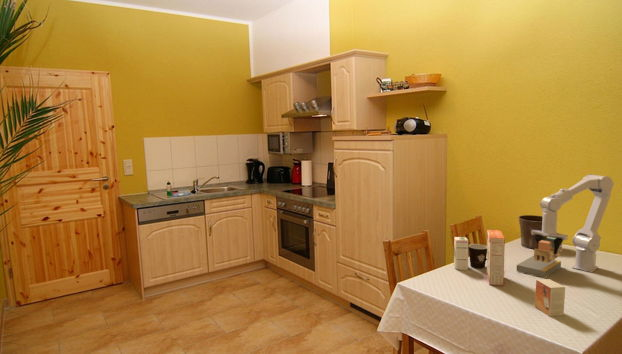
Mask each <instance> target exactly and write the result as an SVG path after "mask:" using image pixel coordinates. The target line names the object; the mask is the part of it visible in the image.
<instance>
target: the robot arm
mask: <svg viewBox="0 0 622 354" xmlns="http://www.w3.org/2000/svg"><path fill="white" fill-rule="evenodd" d="M614 185H615V183H614V181H613V179H612V177H610V176H608V175H597V174H587V175H585V176H583V177H582V179H581V180H579V181H578V182H577V183H575V184H573V186H571V187H569V188H560V189H559V191H556V192H555V193H552V194H550V195H549V196H545V197H543V198H542V199H541V202H539V207H541V212H542V216H543V218H542V231H539V230H531V235H535V240H536V241H537V244H539V241H541V240H543V239H544V236H546V237H552V238H556V239H554V254H557V252H558V249H559V247H560V245H561V243H562V244H563V241H567V240H568V238H569V237H568V236H569V235H568V234H563V233H560V232H557V228H558V225H557V224H558V212H559V210H560V209H561V208H562V206H563V205H565V204H566V203H568V202H569V201H571V200H573V197H574V196H575V195H577V194H580V193H581V192H583V191H586V190H589V191H591V193H593V196H594V198H593V200H592V203H591V206H590V209H589V211H588V214H587V217H586V220H585V222H584V225H583V227H581V228H580V229H578V230H577V231H576V233H575V235H574V236H573V238H572V244H573V245H574V246H575V247H574V249H575V262H574V263H575V264H574V265H573V266H572V267H571V268H572V269H574V270H575V269H576V270H580V271H586V272H589V273H593V272H594V271H596V270H597V269H598V267H599V266H597V265H596V264H597V263H596V262H597V261H596V260H597V251H598V250H599V249H600V245H601V239H602V237H601V235H600V234H599V233H598V230H599V229H600V225H601V222H602V220H603V218H604V214H605V212H606V209H607V207H608V204H609V201H610V199H611V196H612V190H613V187H614Z"/></svg>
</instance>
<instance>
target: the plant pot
mask: <svg viewBox="0 0 622 354" xmlns="http://www.w3.org/2000/svg"><path fill="white" fill-rule="evenodd" d="M542 218H543V215H542V216H541V215H535V214H534V215H531V214H524V215H519V216H518V220H519V221H518V222H519V224H518V225H519V228H520V245H521V246H523V247H525V248H528V249H532V250H534V249H538V244H537V241H536V240H535V235H531V230H539V231H542ZM546 238H547V237H546V236H544V239H543V240H544V241H546Z"/></svg>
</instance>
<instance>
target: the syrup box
mask: <svg viewBox="0 0 622 354" xmlns="http://www.w3.org/2000/svg"><path fill="white" fill-rule="evenodd" d="M453 239H454V240H453V244H454V246H453V251H454V252H453V266H454V269H455V270H461V271H468V270H469V247H468V246H469V239H468V238H467V237H464V236H454V237H453Z"/></svg>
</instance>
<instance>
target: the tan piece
mask: <svg viewBox="0 0 622 354" xmlns="http://www.w3.org/2000/svg"><path fill="white" fill-rule="evenodd" d="M562 248H563V242H562V243H561V245H560V247H559V249H558V252H557V254H554V248H553V247H551V251H549V252H548V251H545V250H540V249H533V250H534V251H533V256H534V261H538V260H539V262H543V261H544V263H549V262H551V261H552V260H557V258H559V257H560V256H562V253H563V252H562V251H563V249H562Z"/></svg>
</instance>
